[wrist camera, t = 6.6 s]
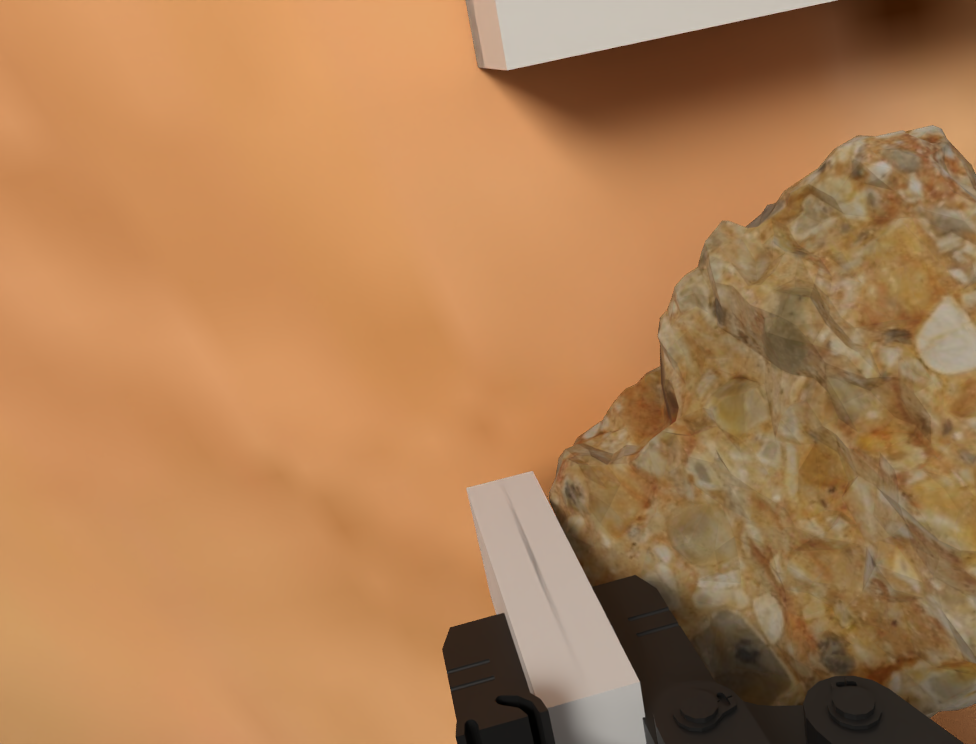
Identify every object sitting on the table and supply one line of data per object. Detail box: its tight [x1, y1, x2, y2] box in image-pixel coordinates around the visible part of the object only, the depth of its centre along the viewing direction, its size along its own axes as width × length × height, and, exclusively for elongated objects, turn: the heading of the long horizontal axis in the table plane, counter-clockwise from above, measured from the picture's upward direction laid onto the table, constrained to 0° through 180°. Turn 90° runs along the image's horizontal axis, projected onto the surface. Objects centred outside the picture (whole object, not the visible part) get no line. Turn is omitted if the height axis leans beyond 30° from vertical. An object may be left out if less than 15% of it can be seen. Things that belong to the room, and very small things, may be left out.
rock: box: [549, 125, 976, 718], centre depth 17 cm, size 12×10×10 cm
